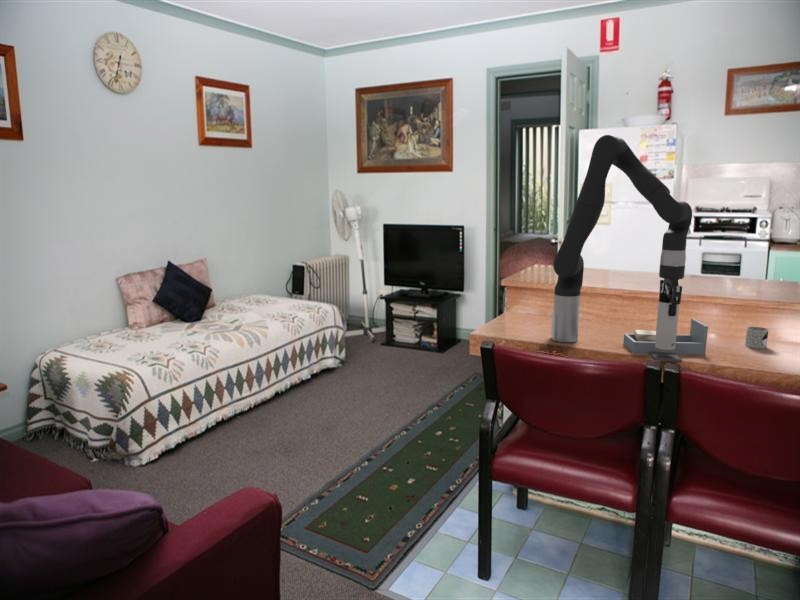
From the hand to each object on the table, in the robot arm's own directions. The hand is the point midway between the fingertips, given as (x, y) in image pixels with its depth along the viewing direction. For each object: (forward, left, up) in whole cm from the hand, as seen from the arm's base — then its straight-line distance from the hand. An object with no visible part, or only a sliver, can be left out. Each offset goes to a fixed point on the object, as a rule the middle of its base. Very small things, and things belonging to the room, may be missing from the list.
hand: (668, 313), depth 200 cm
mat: (0, 0, -15) cm, 15 cm away
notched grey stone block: (+38, +19, -16) cm, 45 cm away
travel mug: (0, 0, -13) cm, 13 cm away
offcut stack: (-2, +12, -15) cm, 20 cm away
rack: (+3, +11, -15) cm, 19 cm away
